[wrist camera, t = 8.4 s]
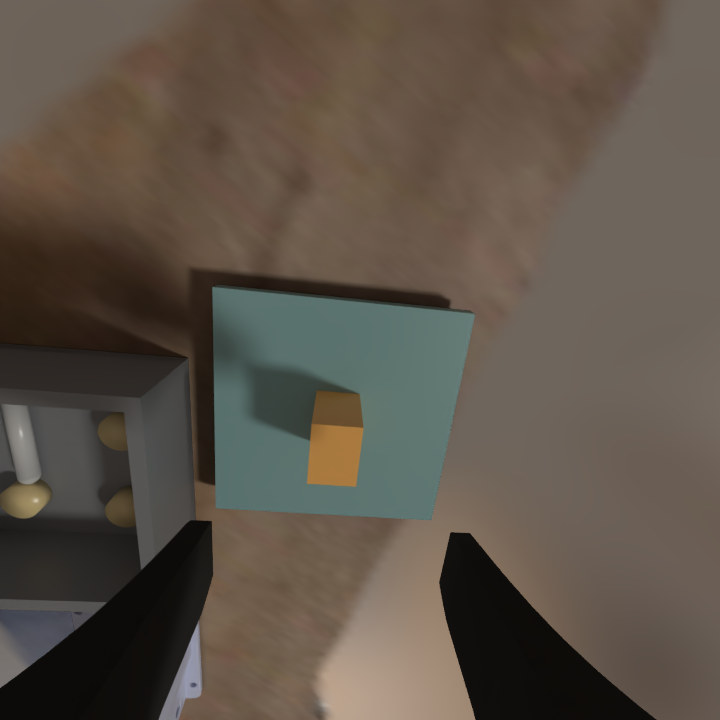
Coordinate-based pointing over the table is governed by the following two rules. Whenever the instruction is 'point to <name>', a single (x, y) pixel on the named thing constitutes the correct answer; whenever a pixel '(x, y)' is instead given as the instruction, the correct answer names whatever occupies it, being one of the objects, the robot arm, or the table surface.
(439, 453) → the lid
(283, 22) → the table surface
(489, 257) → the table surface
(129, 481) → the parts tub
